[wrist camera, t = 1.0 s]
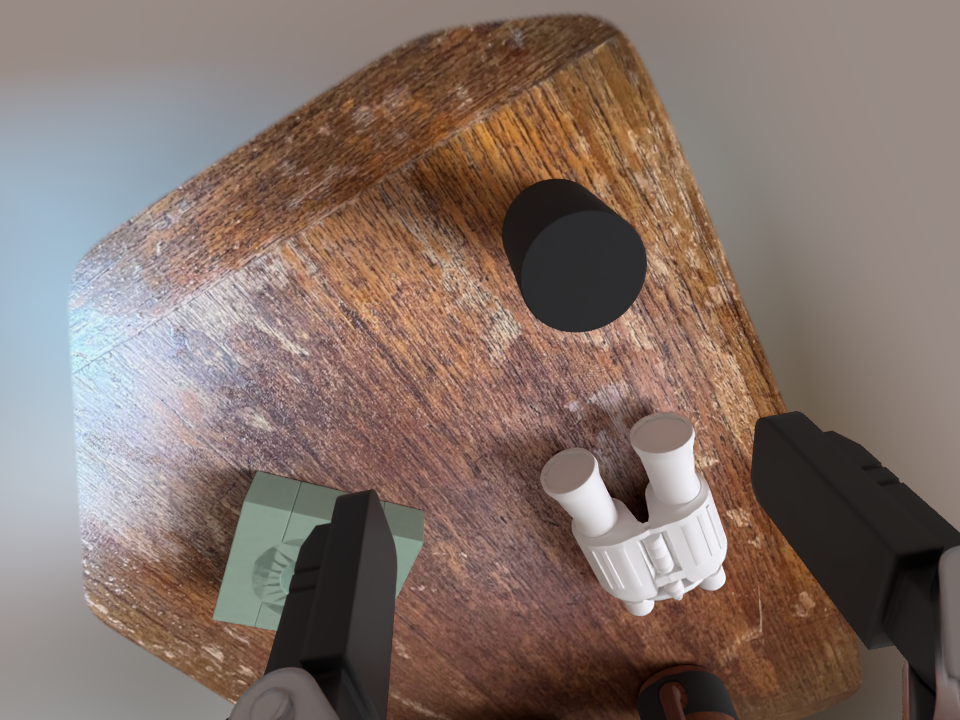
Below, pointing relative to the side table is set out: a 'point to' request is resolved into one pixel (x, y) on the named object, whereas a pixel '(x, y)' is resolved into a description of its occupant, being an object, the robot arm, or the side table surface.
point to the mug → (685, 696)
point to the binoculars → (671, 525)
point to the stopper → (572, 256)
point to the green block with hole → (290, 546)
